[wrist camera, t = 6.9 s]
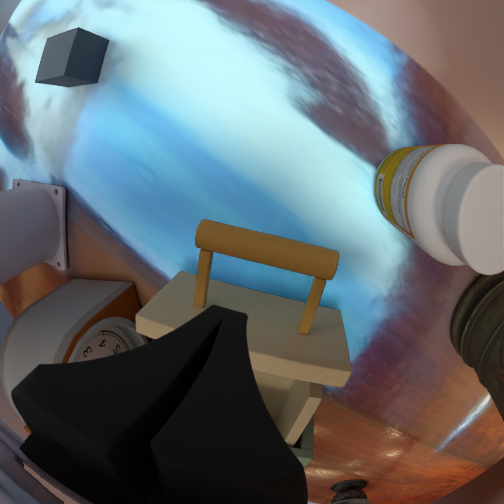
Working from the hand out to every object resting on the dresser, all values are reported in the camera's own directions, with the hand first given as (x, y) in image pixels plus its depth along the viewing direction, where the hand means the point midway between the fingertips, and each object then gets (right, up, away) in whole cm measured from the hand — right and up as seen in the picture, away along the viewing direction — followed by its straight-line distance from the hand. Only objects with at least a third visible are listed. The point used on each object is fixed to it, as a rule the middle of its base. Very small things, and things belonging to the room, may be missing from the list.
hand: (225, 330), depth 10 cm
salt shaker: (+15, -32, +18) cm, 40 cm away
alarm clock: (-12, -7, +15) cm, 20 cm away
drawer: (+1, -4, +10) cm, 11 cm away
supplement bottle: (+11, +7, +6) cm, 14 cm away
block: (-13, +19, +6) cm, 23 cm away
